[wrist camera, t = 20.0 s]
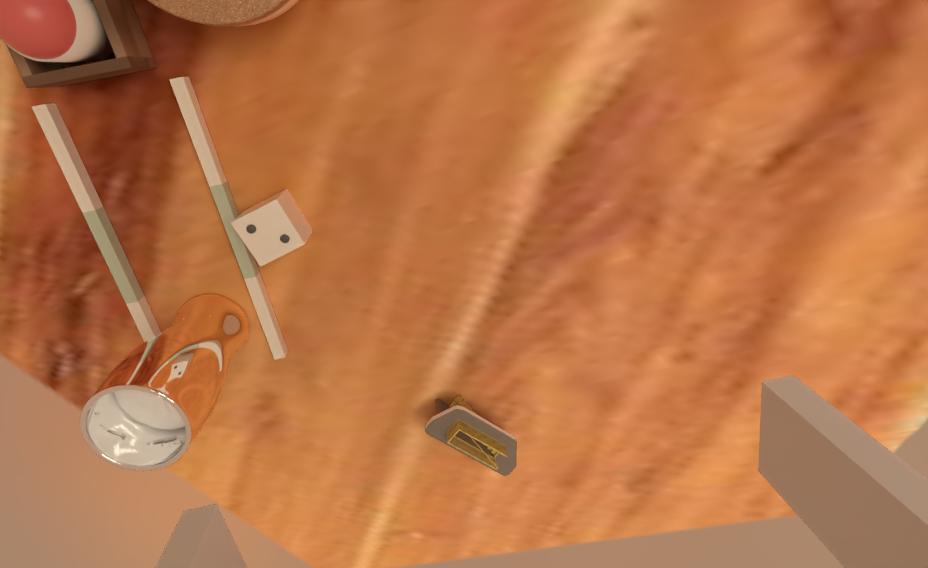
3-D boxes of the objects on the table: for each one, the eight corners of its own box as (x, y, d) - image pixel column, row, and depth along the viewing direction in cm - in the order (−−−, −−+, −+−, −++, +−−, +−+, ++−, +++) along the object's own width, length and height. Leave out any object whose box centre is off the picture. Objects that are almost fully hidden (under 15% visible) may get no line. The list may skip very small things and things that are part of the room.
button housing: (14, -21, 36) (-30, -32, 33) (115, -41, 37) (83, -53, 33) (62, 86, 39) (26, 88, 35) (156, 67, 39) (131, 67, 36)
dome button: (25, -10, 36) (-57, -27, 29) (99, -24, 36) (33, -45, 29) (61, 69, 38) (-10, 68, 31) (131, 55, 38) (75, 52, 31)
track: (41, 105, 39) (31, 106, 38) (188, 76, 40) (182, 76, 39) (169, 376, 49) (164, 383, 47) (288, 350, 49) (285, 357, 48)
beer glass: (269, 342, 48) (215, 451, 35) (199, 369, 49) (118, 488, 35) (229, 277, 46) (155, 366, 32) (156, 306, 46) (50, 407, 32)
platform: (435, 320, 50) (440, 354, 44) (574, 408, 55) (595, 449, 49) (364, 409, 53) (359, 453, 47) (503, 484, 58) (514, 532, 52)
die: (244, 210, 44) (230, 223, 40) (287, 188, 44) (276, 199, 40) (272, 250, 45) (260, 267, 42) (313, 230, 45) (304, 244, 41)
